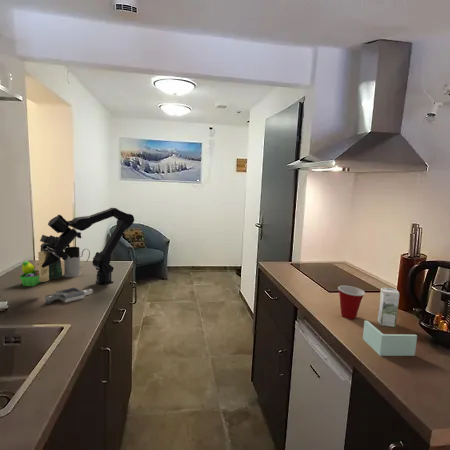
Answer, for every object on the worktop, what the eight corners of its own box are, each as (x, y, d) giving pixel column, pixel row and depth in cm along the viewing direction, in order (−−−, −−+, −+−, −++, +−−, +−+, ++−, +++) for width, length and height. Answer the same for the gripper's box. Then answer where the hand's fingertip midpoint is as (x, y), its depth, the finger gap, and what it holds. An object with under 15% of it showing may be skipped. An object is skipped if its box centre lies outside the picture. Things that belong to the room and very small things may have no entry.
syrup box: (392, 322, 140) (395, 288, 138) (395, 328, 135) (399, 292, 133) (377, 320, 142) (380, 286, 140) (380, 326, 136) (384, 290, 134)
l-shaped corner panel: (414, 357, 113) (417, 335, 112) (379, 357, 112) (381, 335, 111) (394, 340, 125) (396, 320, 124) (362, 340, 124) (364, 320, 123)
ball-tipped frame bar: (87, 290, 164) (87, 284, 164) (97, 294, 159) (97, 288, 158) (41, 301, 148) (40, 294, 147) (50, 306, 142) (49, 299, 142)
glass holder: (61, 274, 189) (60, 247, 187) (86, 270, 199) (86, 244, 197) (67, 277, 183) (66, 250, 181) (93, 273, 193) (93, 247, 191)
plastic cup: (360, 324, 137) (362, 295, 136) (332, 317, 143) (335, 289, 141) (365, 315, 146) (367, 288, 145) (339, 309, 152) (341, 283, 150)
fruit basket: (34, 287, 166) (34, 264, 164) (16, 286, 166) (15, 263, 164) (46, 280, 177) (46, 259, 176) (29, 279, 177) (28, 258, 176)
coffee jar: (64, 276, 185) (64, 242, 183) (55, 280, 177) (55, 245, 175) (48, 275, 186) (47, 241, 184) (38, 279, 178) (37, 244, 176)
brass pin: (46, 278, 158) (45, 250, 156) (50, 280, 155) (49, 252, 154) (37, 280, 155) (36, 252, 153) (41, 282, 152) (40, 253, 151)
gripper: (44, 225, 161) (18, 251, 155) (60, 231, 149) (33, 259, 142) (61, 240, 168) (38, 266, 161) (78, 246, 155) (53, 274, 149)
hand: (40, 266), depth 153 cm, fingers closed on brass pin, 4 cm apart
